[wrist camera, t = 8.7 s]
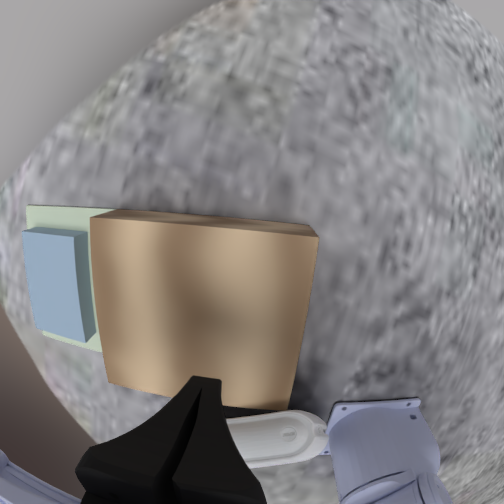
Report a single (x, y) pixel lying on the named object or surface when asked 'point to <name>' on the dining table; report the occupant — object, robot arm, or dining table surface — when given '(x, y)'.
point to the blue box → (59, 281)
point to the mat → (69, 221)
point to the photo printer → (278, 437)
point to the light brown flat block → (202, 302)
